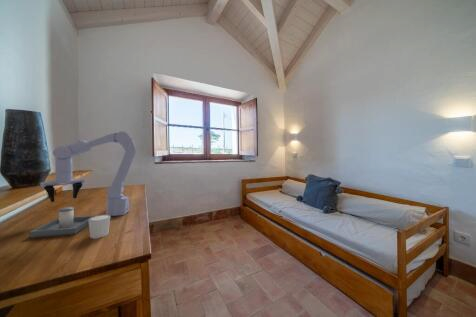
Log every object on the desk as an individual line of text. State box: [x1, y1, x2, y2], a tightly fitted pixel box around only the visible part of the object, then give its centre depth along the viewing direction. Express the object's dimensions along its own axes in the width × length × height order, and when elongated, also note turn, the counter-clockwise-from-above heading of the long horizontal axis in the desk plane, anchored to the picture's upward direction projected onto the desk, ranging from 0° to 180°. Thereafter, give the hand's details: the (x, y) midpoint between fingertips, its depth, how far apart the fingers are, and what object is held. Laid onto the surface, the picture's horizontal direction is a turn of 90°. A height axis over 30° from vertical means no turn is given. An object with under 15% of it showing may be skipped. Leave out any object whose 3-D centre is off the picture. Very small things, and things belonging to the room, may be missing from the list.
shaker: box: [57, 206, 75, 229], centre depth 71 cm, size 5×5×8 cm
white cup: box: [88, 214, 111, 239], centre depth 66 cm, size 7×7×7 cm
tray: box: [29, 215, 96, 239], centre depth 71 cm, size 14×14×2 cm
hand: (64, 199), depth 80 cm, fingers open, 7 cm apart
